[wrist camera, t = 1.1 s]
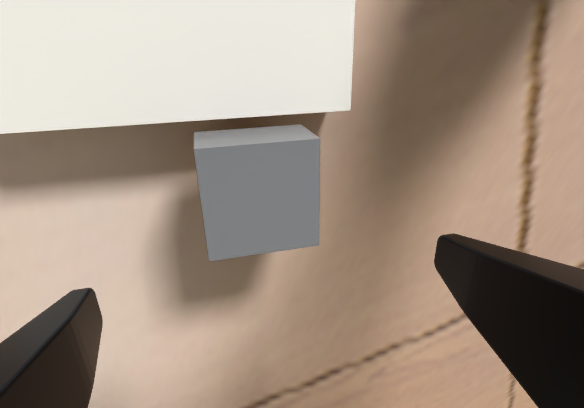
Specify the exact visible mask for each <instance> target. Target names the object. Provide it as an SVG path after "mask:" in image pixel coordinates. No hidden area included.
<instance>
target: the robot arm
mask: <svg viewBox="0 0 584 408" xmlns="http://www.w3.org/2000/svg"><path fill="white" fill-rule="evenodd" d="M434 264H435V267H436V270H437V271H438V273H439V274H440V276H441V278H442V279H443V281H444V282H445V284H446V285H447V287H448V289H449V290H450V292H451V293H452V295H453V296H454V298H455V299H456V301H457V303H458V304H459V306H460V307H461V309H462V310H463V312H464V313H465V314H466V316H467V317H468V318H469V320H470V321H471V322H472V324H473V325H474V326H475V327H476V329H477V330H478V331H479V333H480V334H481V335H482V336H483V338H484V339H485V340H486V341H487V343H488V344H489V345H490V347H491V348H492V349H493V350H494V352H495V353H496V354H497V355H498V357H499V358H500V359H501V361H502V362H503V363H504V364H505V366H506V367H507V368H508V370H509V371H510V372H511V373H512V375H513V376H514V377H515V378H516V380H517V381H518V382H519V384H520V385H521V386H522V387H523V389H524V390H525V391H526V392H527V394H528V395H529V396H530V398H531V399H532V400H533V401H534V403H535V404H536V405H537V407H538V408H584V269H580V268H576V267H573V266H569V265H566V264H562V263H558V262H555V261H551V260H548V259H544V258H540V257H537V256H533V255H530V254H526V253H522V252H519V251H515V250H512V249H508V248H504V247H501V246H497V245H494V244H490V243H486V242H483V241H479V240H476V239H472V238H468V237H465V236H461V235H458V234H446V235H441V236H440V237H439V238H438V241H437V247H436V253H435V259H434ZM101 332H102V315H101V311H100V308H99V305H98V301H97V298H96V294H95V292H94V290H93V289H92V288H84V289H77V290H73V291H71V292H69V293H68V294H67V295H65V296H64V297H62V298H61V299H60V300H58V301H57V302H56V303H54V304H53V305H52V306H50V307H49V308H48V309H46V310H45V311H43V312H42V313H41V314H39V315H38V316H37V317H35V318H34V319H33V320H31V321H30V322H28V323H27V324H26V325H24V326H23V327H22V328H20V329H19V330H18V331H16V332H15V333H13V334H12V335H11V336H9V337H8V338H7V339H5V340H4V341H3V342H1V343H0V408H88V404H89V401H90V397H91V393H92V389H93V384H94V378H95V371H96V365H97V358H98V351H99V345H100V338H101Z"/></svg>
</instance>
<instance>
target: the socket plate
mask: <svg viewBox="0 0 584 408" xmlns="http://www.w3.org/2000/svg"><path fill="white" fill-rule="evenodd" d="M354 15H355V0H0V134H6V133H21V132H36V131H51V130H66V129H81V128H96V127H111V126H125V125H140V124H155V123H170V122H185V121H200V120H215V119H230V118H245V117H259V116H274V115H289V114H304V113H319V112H334V111H349V110H351V86H352V62H353V39H354Z"/></svg>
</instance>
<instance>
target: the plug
mask: <svg viewBox="0 0 584 408" xmlns="http://www.w3.org/2000/svg"><path fill="white" fill-rule="evenodd" d="M194 155H195V162H196V170H197V177H198V184H199V192H200V199H201V206H202V213H203V221H204V228H205V235H206V243H207V250H208V257H209V261H216V260H222V259H229V258H236V257H243V256H250V255H256V254H263V253H270V252H277V251H283V250H290V249H297V248H304V247H311V246H317V245H319V213H320V138H319V137H317V136H316V135H315V134H313V133H312V132H311V131H309V130H308V129H307V128H305V127H304V126H303V125H301V124H298V125H284V126H270V127H257V128H243V129H230V130H216V131H202V132H194Z"/></svg>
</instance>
